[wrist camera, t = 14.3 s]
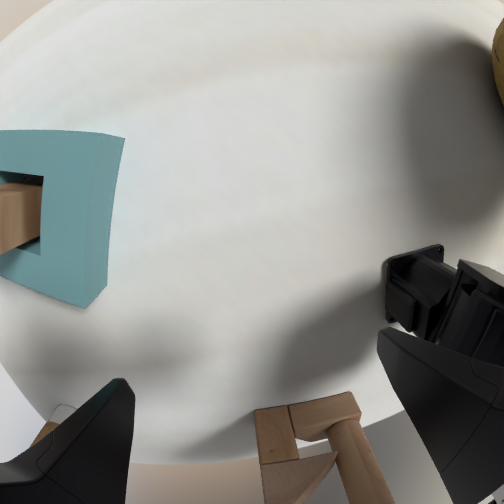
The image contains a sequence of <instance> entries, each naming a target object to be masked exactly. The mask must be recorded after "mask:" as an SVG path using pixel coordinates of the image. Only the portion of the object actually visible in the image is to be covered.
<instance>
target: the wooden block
mask: <svg viewBox="0 0 504 504" xmlns="http://www.w3.org/2000/svg"><path fill="white" fill-rule="evenodd" d="M360 417H361V411H360V408H359V406H358V404H357V402H356V400H355V398H354V396H353V394H352V392H347V393H343V394H339V395H335V396H331V397H327V398H323V399H318V400H313V401H309V402H304V403H299V404H293V405H289V406H288V408H287V406H279V407H273V408H266V409H258V410H255V412H254V419H255V428H256V437H257V446H258V455H259V463H260V469H261V476H262V485H263V494H264V502H265V504H303V503H304V502H305V501H306V500H307V499H308V498H309V496H310V495H311V494H312V493H313V492H314V491H315V489H316V488H317V487H318V486H319V484H320V483H321V482H322V481H323V479H324V478H325V477H326V475H327V474H328V473H329V472H330V470H331V469H332V467H333V466H334V463H335V461H336V464H337V467H338V470H339V473H340V476H341V479H342V482H343V485H344V488H345V491H346V494H347V497H348V500H349V504H395V502H394V500H393V498H392V495H391V493H390V490H389V488H388V486H387V484H386V481H385V479H384V477H383V474H382V472H381V470H380V467H379V465H378V463H377V461H376V458H375V456H374V454H373V451H372V449H371V447H370V445H369V442H368V440H367V438H366V436H365V434H364V431H363V429H362V427H361V425H360V423H359V421H360ZM295 438H297V439H301V440H304V441H308V442H314V441H318V440H322V439H327V438H328V440H329V443H330V446H331V449H332V452H329V453H325V454H321V455H317V456H313V457H308V458H303V459H299V454H298V449H297V445H296V441H295Z"/></svg>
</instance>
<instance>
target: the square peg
mask: <svg viewBox="0 0 504 504" xmlns="http://www.w3.org/2000/svg"><path fill="white" fill-rule="evenodd" d="M42 190H43V181H38V180H31V179H30V180H24V181H18V182H12V183H7V184H2V185H0V255H2V254H4V253H5V252H7V251H9V250H11V249H13V248H15V247H17V246H19V245H21V244H23V243H25V242H27V241H29V240H31V239H33V238H35V237H37V236H40V225H41V203H42Z"/></svg>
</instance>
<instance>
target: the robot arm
mask: <svg viewBox="0 0 504 504" xmlns="http://www.w3.org/2000/svg"><path fill="white" fill-rule="evenodd" d="M439 249H440V250H439ZM443 259H444V247H443V246H442V245H440V244H437V245H434V246H430V247H427V248H423V249H419V250H416V251H412V252H409V253H405V254H401V255H398V256H394V257H391V258H390V259H389V260H388V279H387V285H386V306H385V309H386V320H387V322H388V323H394V322H397V321H398V322H399V323H400V324H401V326H402V327H403V328H404V329H405V330H406V331H407V332H409V333H410V332H413V333H414V334H415V335H416V336H417V337H415V336H412V335H410V334H407V333H405V332H402V331H399V330H397V329H394V328H392V327H387V328H384V329H381V330H379V332H378V339H377V353H378V356H379V358H380V360H381V362H382V365H383V367H384V369H385V371H386V374H387V376H388V378H389V381H390V383H391V385H392V387H393V389H394V391H395V393H396V394H397V396H398V398H399V400H400V401H401V403H402V405H403V407H404V408H405V410H406V412H407V414H408V415H409V417H410V419H411V421H412V423H413V424H414V426H415V428H416V430H417V432H418V433H419V435H420V437H421V439H422V441H423V443H424V445H425V446H426V448H427V450H428V452H429V454H430V456H431V458H432V460H433V462H434V464H435V466H436V468H437V470H438V472H439V474H440V476H441V478H442V480H443V482H444V485H445V486H446V489H447V490H448V493H449V495H450V497H451V499H452V501H453V504H478V503H479V502H481V501H482V500H484V499H485V498H486V497H488V496H489V495H491V494H492V495H493V497H494V499H493V500H492V501H491V502H490V503H488V504H504V275H503V274H501V273H499V272H497V271H495V270H493V269H491V268H489V267H486V266H483V265H480V264H476V263H472V262H469V261H465V260H462V259H459V262H458V265H457V266H458V269H457V270H456V269H455V268H453V267H451V266H449V265H448V264H446V263H444V262H443ZM394 261H395V263H394V265H392V264H393V262H394ZM391 317H392V318H391ZM390 318H391V319H390ZM134 413H135V394H134V392H133V391H132V389H131V388H130V386H129V384H128V383H127V381H126V380H125V379H123V378H115V379H113V380H112V381H110V382H109V383H108V384H107V385H106V386H105V387H103V388H102V389H101V390H100V391H99V392H97V393H96V394H95V395H94V396H93V397H92V398H90V399H89V400H88V401H87V402H86V403H84V404H83V405H82V406H81V407H80V408H78V409H77V410H76V411H75V412H74V413H72V414H71V415H70V416H69V417H68V418H67V419H65V420H64V421H63V422H62V423H61V424H59V425H58V426H57V427H56V428H55V429H54V430H52V431H51V432H50V433H49V434H47V435H46V436H45V437H44V438H42V439H41V440H40V441H39V442H37V443H36V444H34V445H33V446H32V447H30V448H29V449H27V450H26V451H25V452H23V453H21V454H20V455H18V456H17V457H15V458H14V459H12V460H10V461H8V462H5V463H0V504H125V497H126V485H127V477H128V468H129V460H130V453H131V446H132V439H133V431H134Z"/></svg>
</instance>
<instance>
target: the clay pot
mask: <svg viewBox="0 0 504 504" xmlns="http://www.w3.org/2000/svg"><path fill="white" fill-rule="evenodd" d="M492 65H493V71H494V77H495V82H496V87H497V90H498V93H499V96H500V98H501V101H502V104H503V106H504V18H503V20H502V22H501V23H500V25H499V26H498V28H497V29H496V33H495V36H494V39H493V45H492Z"/></svg>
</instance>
